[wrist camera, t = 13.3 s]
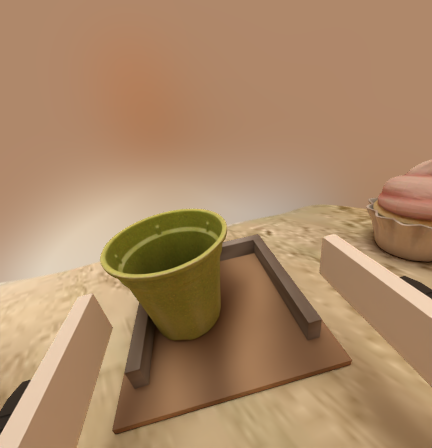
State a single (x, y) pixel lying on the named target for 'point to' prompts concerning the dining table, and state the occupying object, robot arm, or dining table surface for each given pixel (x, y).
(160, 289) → the plant pot
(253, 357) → the keeper bracket
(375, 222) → the cupcake
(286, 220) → the dining table surface
